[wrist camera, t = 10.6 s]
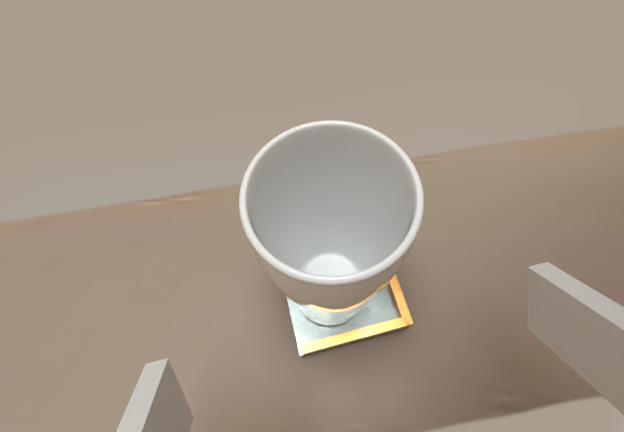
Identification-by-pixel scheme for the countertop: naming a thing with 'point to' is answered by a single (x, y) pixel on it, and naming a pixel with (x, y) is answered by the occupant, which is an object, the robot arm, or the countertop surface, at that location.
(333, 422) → the countertop surface
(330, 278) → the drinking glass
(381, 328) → the square coaster
